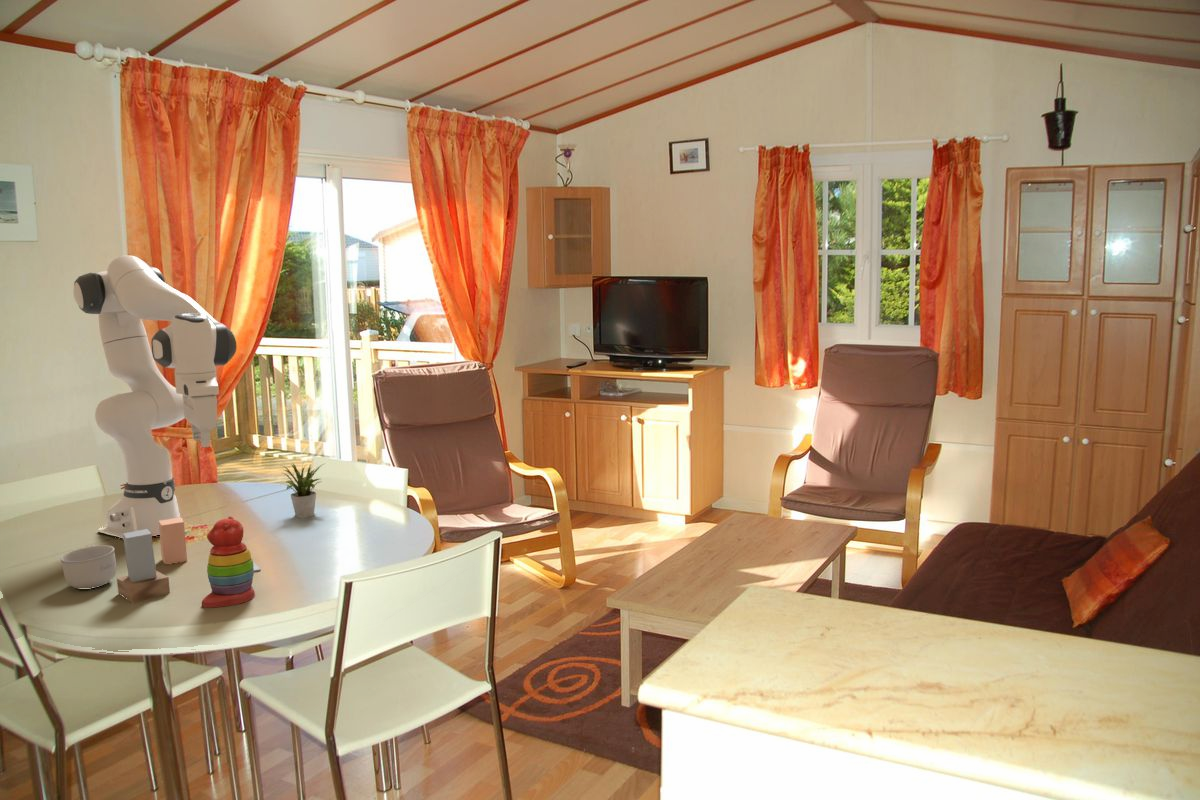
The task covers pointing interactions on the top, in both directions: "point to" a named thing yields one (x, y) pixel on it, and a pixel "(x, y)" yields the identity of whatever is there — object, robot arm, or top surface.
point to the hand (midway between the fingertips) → (201, 443)
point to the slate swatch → (256, 568)
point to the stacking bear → (228, 566)
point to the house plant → (303, 491)
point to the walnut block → (143, 587)
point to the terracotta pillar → (172, 540)
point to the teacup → (89, 566)
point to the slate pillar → (139, 555)
